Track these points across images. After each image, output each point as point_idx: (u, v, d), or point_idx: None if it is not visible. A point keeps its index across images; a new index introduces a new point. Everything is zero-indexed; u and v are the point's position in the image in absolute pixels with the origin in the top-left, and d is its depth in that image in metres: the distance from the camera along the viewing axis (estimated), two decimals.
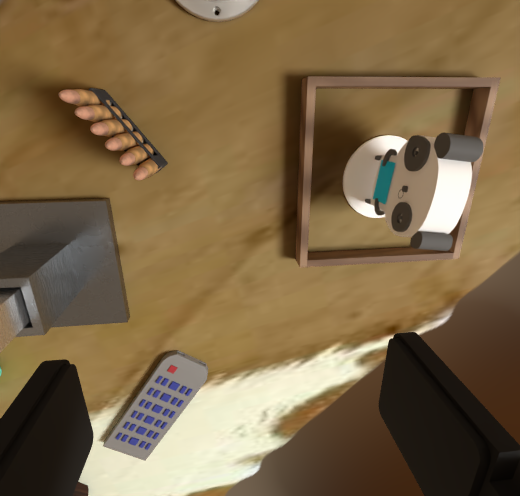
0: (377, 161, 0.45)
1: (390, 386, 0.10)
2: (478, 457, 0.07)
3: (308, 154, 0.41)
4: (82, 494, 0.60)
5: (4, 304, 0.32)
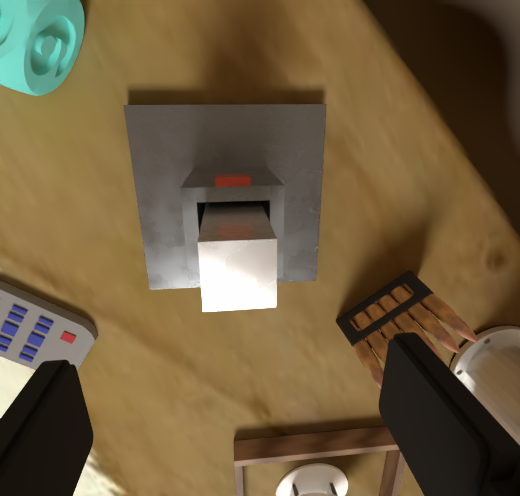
0: (327, 484, 0.51)
1: (390, 386, 0.10)
2: (478, 457, 0.07)
3: (347, 452, 0.45)
4: None
5: None
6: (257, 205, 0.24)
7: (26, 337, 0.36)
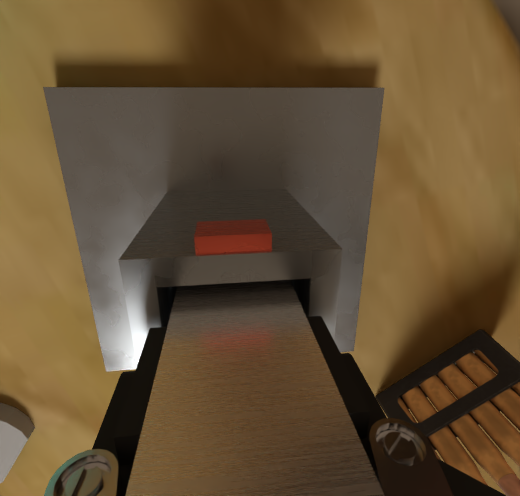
0: None
1: None
2: None
3: None
4: None
5: None
6: (282, 283, 0.12)
7: None
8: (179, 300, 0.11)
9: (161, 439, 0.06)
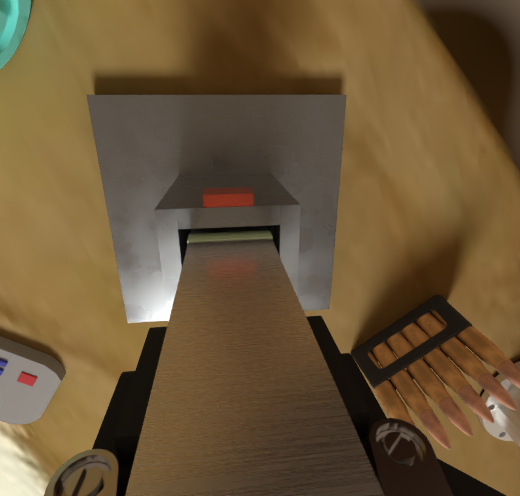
0: None
1: None
2: None
3: None
4: None
5: None
6: (282, 283, 0.12)
7: None
8: (179, 300, 0.11)
9: (161, 439, 0.06)
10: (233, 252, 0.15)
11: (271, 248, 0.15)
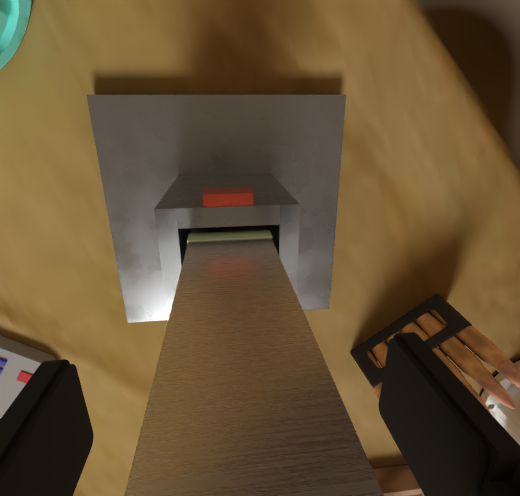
0: None
1: (390, 386, 0.10)
2: (478, 457, 0.07)
3: None
4: None
5: None
6: (282, 283, 0.12)
7: None
8: (178, 299, 0.11)
9: (160, 437, 0.06)
10: (233, 252, 0.15)
11: (271, 248, 0.15)
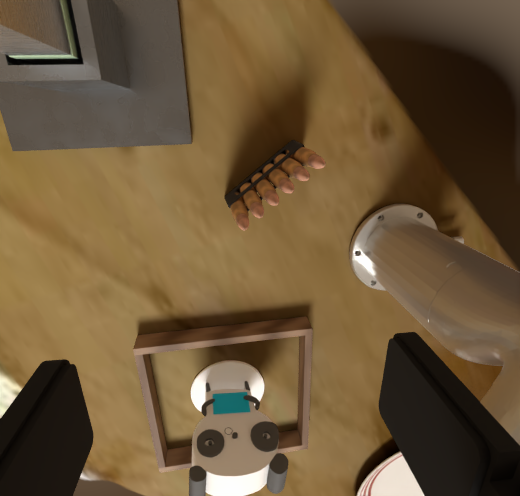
0: (242, 383, 0.51)
1: (390, 386, 0.10)
2: (478, 457, 0.07)
3: (250, 338, 0.45)
4: None
5: (6, 29, 0.16)
6: None
7: None
8: None
9: None
10: None
11: None
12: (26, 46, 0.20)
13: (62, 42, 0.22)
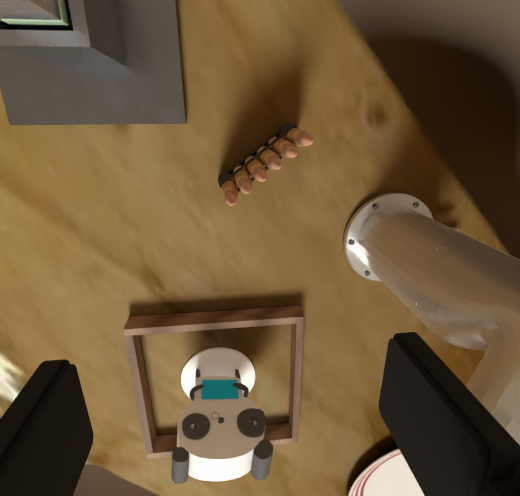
0: (233, 371, 0.51)
1: (390, 386, 0.10)
2: (478, 457, 0.07)
3: (241, 324, 0.45)
4: None
5: None
6: None
7: None
8: None
9: None
10: None
11: None
12: (13, 5, 0.20)
13: (51, 5, 0.22)
